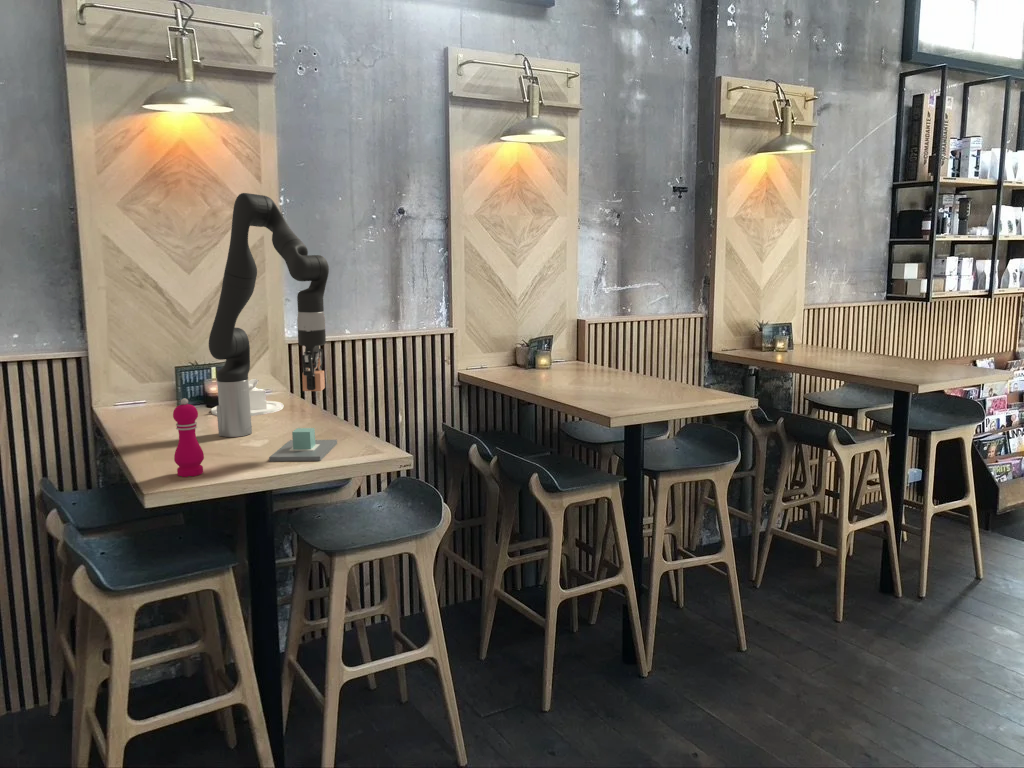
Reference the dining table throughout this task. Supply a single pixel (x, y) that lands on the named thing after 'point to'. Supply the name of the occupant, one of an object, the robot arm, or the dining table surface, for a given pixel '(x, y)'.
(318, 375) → the orange cube
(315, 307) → the robot arm
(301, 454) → the plate
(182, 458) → the pepper mill
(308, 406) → the dining table surface
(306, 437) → the teal cube
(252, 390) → the dish
